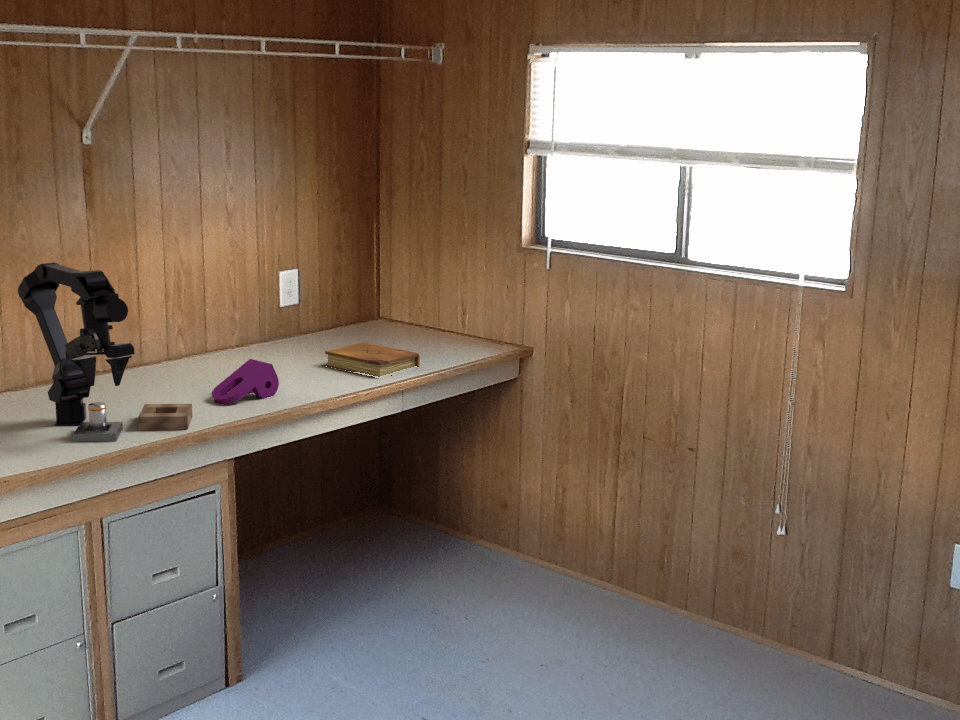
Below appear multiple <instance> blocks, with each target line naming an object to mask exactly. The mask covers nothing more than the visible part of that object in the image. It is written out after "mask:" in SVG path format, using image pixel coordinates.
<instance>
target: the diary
mask: <svg viewBox="0 0 960 720" xmlns="http://www.w3.org/2000/svg"><path fill="white" fill-rule="evenodd" d="M324 354H325V355H327V364H325V365H324V367H325V366H327V367H332V368H336V369H341V370H346V371H351V372H360V373H365V374H369V375H373V376H378V377H380V376H383V375H386V374H390V373H393V372H396V371H400V370H403V369H407V368H411V367H414V366H417V367H419V368H420V359H421V358H420V354H419V353H418V352H414V351H409V350H404V349H399V348H395V347H389V346H384V345H380V344H379V345H378V344H374V343H369V342H365V341H364V342H358V343H354V344H350V345H349V344H348V345H346V346H342V347H336V348H332V349H329V350H328V349H327V350H325V351H324ZM327 367H326V368H327ZM332 368H331V369H332ZM336 369H335V370H336ZM341 370H340V371H341Z"/></svg>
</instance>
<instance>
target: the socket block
mask: <svg viewBox="0 0 960 720" xmlns="http://www.w3.org/2000/svg"><path fill="white" fill-rule="evenodd" d="M192 419H193V403H145V404H144V405H143V407H142V408H141V410H140V412H139V414H138V416H137V424H138V431H180V430H179V429H189V426H190V424H191V422H192ZM177 429H178V430H177Z"/></svg>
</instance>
